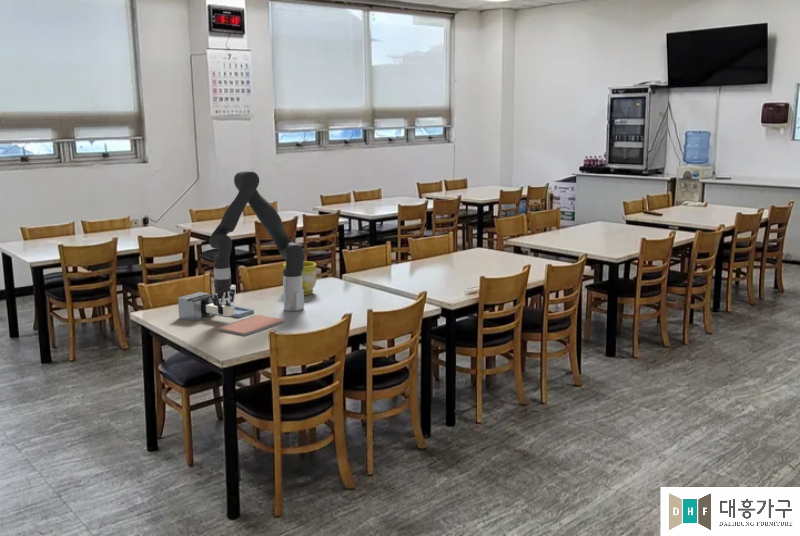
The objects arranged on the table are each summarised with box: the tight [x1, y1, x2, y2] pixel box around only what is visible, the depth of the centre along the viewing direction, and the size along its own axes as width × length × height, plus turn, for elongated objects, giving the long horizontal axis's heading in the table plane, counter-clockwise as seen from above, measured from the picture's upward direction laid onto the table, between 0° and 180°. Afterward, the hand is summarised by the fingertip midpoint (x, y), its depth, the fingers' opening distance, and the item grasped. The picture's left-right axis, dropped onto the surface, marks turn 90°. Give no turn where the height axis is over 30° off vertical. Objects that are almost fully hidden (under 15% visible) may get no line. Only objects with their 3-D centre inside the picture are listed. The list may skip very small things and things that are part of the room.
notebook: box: [218, 314, 285, 337], centre depth 333 cm, size 27×17×2 cm, turn 149°
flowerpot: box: [282, 260, 317, 296], centre depth 397 cm, size 18×18×16 cm
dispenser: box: [177, 291, 217, 322], centre depth 347 cm, size 10×14×10 cm
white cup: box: [223, 284, 237, 306], centre depth 369 cm, size 8×8×10 cm
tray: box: [223, 304, 255, 319], centre depth 356 cm, size 20×11×2 cm, turn 60°
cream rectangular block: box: [206, 303, 235, 317], centre depth 340 cm, size 14×4×4 cm, turn 60°
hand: (224, 312), depth 340 cm, fingers closed on cream rectangular block, 4 cm apart
